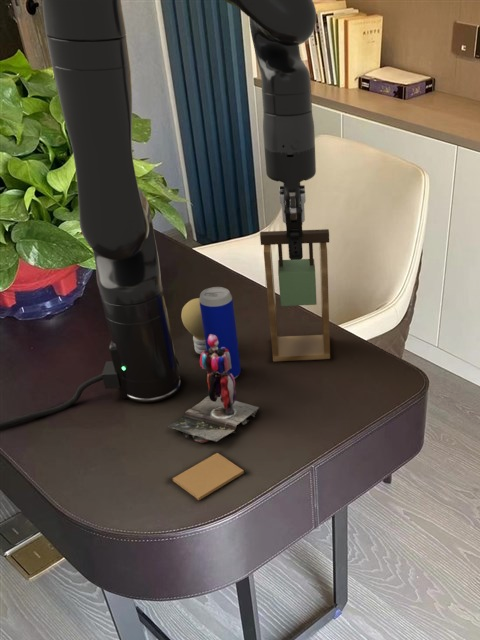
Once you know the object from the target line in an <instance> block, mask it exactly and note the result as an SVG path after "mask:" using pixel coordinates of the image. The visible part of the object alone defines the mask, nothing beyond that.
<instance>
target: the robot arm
mask: <svg viewBox="0 0 480 640" xmlns="http://www.w3.org/2000/svg"><path fill="white" fill-rule="evenodd" d="M223 1H224V2H226V3H227V4H229V5H232V6H234V7H236V8H237V9H239V11H241V12H242V13H244V14H245V15H246V16H247V17H248V21H249V29H250V35H251V40H252V44H253V49H254V54H255V58H256V61H257V66H258V68H259V72H260V78H261V79H260V81H261V97H262V110H263V112H262V113H263V114H262V115H263V117H262V119H263V120H262V131H263V132H262V134H263V147H264V159H265V172H266V176H267V177H268V179H271V181H274V182H279V183H282V184H283V185H279V186H278V187H279V189H278V190H279V202H280V205H281V211H282V212H281V213H282V222H283V223H284V224H285V228H286V229H285V231H287V232H286V236H287V238H288V244H287V247H288V258H289V260H300V259H304V258H303V256H304V253H303V244H302V238H303V236H302V235H303V231H302V230H303V223H304V222H305V221H306V218H305V217H306V215H305V204H306V188H305V187H306V186H305V184H301V183H302V182H304V181H309V180H311V179H313V178H314V176H315V175H316V174H317V173H316V172H317V166H316V164H317V163H316V162H317V161H316V138H315V137H316V136H315V121H314V116H313V104H312V103H313V102H312V101H313V100H312V80H311V79H312V78H311V74H310V70H309V68H308V66H306V64H305V63H304V61H303V60H302V57H301V51H300V45H302V44H304V43H306V42H307V41H308V40H309V39H310V38H311V37H312V35H313V34H314V31H315V30H316V26H317V10H316V6H315V3H314V0H223ZM41 3H42V4H41V5H42V15H43V17H42V18H43V23H44V31H45V32H44V33H45V37H46V42H47V48H48V53H49V58H50V63H51V68H52V74H53V78H54V81H55V85H56V90H57V95H58V99H59V103H60V108H61V112H62V116H63V119H64V120H63V121H64V123H65V127H66V131H67V135H68V138H69V142H70V146H71V149H72V155H73V160H74V167H75V168H74V169H75V177H76V187H77V199H78V200H77V201H78V219H79V227H80V232H81V234H82V236H83V238H84V241H85V242H86V243H87V244H88V246H89V247H90V249H92V253H93V257H94V264H95V274H96V283H97V286H98V287H97V288H98V291H99V295H100V299H101V304H102V308H103V311H104V315H105V321H106V324H107V329H108V332H109V336H110V343H109V347H108V349H109V353H110V357H111V360H110V361H109V360H108V361H107V360H106V361H105V364H104V367H103V370H102V372H101V373H100V374H98V375H96V376H93V377H91V378H89V379H87V380H85V381H84V382H82V383H81V384H80V385H79V386H78V387H77V389H76V390H75V393H74V395H73V396H72V397H71V398H69V399H68V400H67V401H65V402H63V403H62V404H58V405H56V406H54V407H51V408H47V409H44V410H43V409H42V410H40V411H35V412H31V413H28V414H23V415H20V416H17V417H13V418H9V419H6V420H5V419H4V420H2V421H1V420H0V429H2V428H4V427H9V426H13V425H17V424H20V423H24V422H26V421H27V422H28V421H30V420H33V419H37V418H42V417H45V416H46V417H47V416H49V415H54V414H55V413H59V412H61V411H63V410H66V409H67V408H69V407H71V406H73V405H75V403H76V402H78V400H80V397H81V396H82V393H83V391H85V389H87V388H88V387H90V386H92V385H93V384H96V383H99V382H100V381H102V382H103V385H104V388H105V389H109V390H110V389H119V393H120V398H121V399H129V400H130V401H133V402H135V403H136V402H138V403H146V404H147V403H154V402H155V403H156V402H160V401H164V400H166V399H168V398H170V397H172V396H174V395H175V394H176V393H178V391H179V390H180V388H181V386H182V381H181V377H180V371H179V369H181V366H180V362H179V360H178V358H177V357H176V352H175V347H174V342H173V334H172V331H171V325H170V319H169V314H168V309H167V304H166V298H165V291H164V288H163V282H162V274H161V265H160V258H159V253H158V246H157V241H156V235H155V230H154V223H153V218H152V217H153V216H152V212H151V207H150V204H149V202H148V199H147V197H146V195H145V194H144V192H143V190H142V189H141V188H140V187H139V185H138V180H137V175H136V170H135V165H134V164H135V163H134V157H133V141H132V140H133V139H132V138H133V90H132V89H133V88H132V86H133V85H132V73H131V63H130V54H129V47H128V46H129V45H128V41H127V40H128V39H127V32H126V31H127V30H126V24H125V19H124V18H125V17H124V13H123V6H122V1H121V0H41Z"/></svg>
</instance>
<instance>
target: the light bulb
mask: <svg viewBox="0 0 480 640" xmlns="http://www.w3.org/2000/svg"><path fill="white" fill-rule="evenodd" d="M199 299H200V297H197V298H196V297H195V298H192V299H190V300H189V301H188V302H187V303H185V304H184V306H183V307H182V309H181V321H182V324H183V326H184V327H185V330H187V331H188V332H189V333H190V334H191V335H192V341H193V347H194V351H195V352H196V353H197V354H198V355H200V356H201V353H203V352H204V351H205V350H207V348H206V341H205V335H204V328H203V322H202V315H201V309H200V302H199Z"/></svg>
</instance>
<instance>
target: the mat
mask: <svg viewBox="0 0 480 640" xmlns="http://www.w3.org/2000/svg"><path fill="white" fill-rule="evenodd" d="M244 474H245V471H244V469H242V468H241V467H239V466H238V465H236V464H235V463H233V461H230V459H228V458H226V457H225V456H223V455H222V454H220V453H218V452H216V453H214V454H213V455H210V456H209V457H207V458H205V459H204V460H201V461H200V462H198V463H197V464H195V465H193V466H192V467H190V468H188V469H186V470H184V471H183V472H181V473H179V474H178V475H176V476H174V477H172V482H174V483H175V484H177V485H178V487H180V488H182V489H183V490H185V491H186V492H187V493H188V494H190V495H191V496H192V497H194V498H195V499H196V500H197V501H201V500H203V499H204V498H206V497H207V496H209V495H211V494H212V493H214V492H216V491H217V490H219V489H221V488H222V487H224V486H225V485H227V484H228V483H230V482H232V481H233V480H235V479H237V478H238V477H240V476H242V475H244Z"/></svg>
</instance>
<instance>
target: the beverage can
mask: <svg viewBox="0 0 480 640" xmlns="http://www.w3.org/2000/svg"><path fill="white" fill-rule="evenodd" d="M199 298H200V299H199V302H200V309H201V315H202V322H203V328H204V335H205V341H206V348H207V352H208V350H209V348H211V347H210V346H209V344H208V337H209V334H213V335H215V336H217V338H218V346H217V347H218V348H220V349H221V347H225V348H226V349H228V350H229V353H230V359H231V369H230V370H228V371H227V372H229V373H231V374H232V375H233V377H234V379H235V380H236V379H237V378H238V377H239V376H240V374H241V372H242V368H241V360H240V350H239V344H238V343H239V342H238V335H237V326H236V318H235V310H234V302H233V300H234V299H233V296H232V294H231V291H230V290H229V289H228V288H226V287H222V286H212V287H207V288H205V289H203V290H202V291H201V292H200V294H199Z"/></svg>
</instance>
